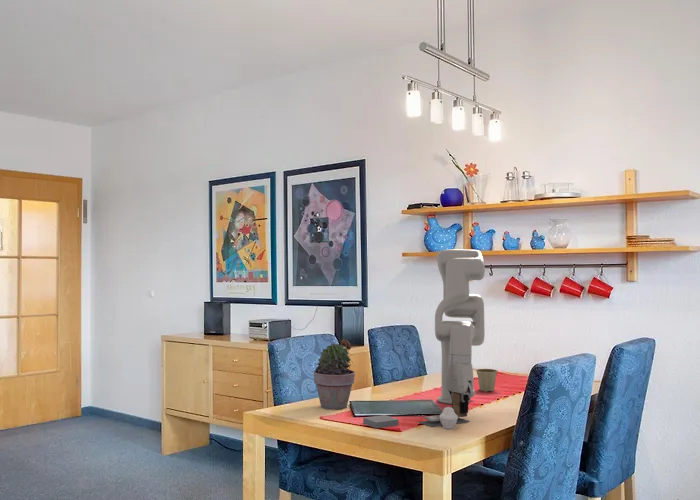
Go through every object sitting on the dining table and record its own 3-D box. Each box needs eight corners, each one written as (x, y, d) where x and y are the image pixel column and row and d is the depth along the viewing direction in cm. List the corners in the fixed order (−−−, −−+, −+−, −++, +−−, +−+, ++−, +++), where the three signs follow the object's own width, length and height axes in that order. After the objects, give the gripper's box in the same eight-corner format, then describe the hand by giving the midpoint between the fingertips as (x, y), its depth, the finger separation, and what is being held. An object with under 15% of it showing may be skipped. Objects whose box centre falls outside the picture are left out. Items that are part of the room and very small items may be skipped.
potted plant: (299, 410, 252) (300, 342, 253) (320, 400, 271) (321, 337, 271) (346, 414, 246) (346, 344, 246) (363, 404, 264) (364, 339, 265)
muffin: (445, 430, 224) (445, 409, 224) (435, 426, 230) (435, 405, 230) (461, 429, 227) (461, 407, 227) (451, 425, 232) (451, 404, 232)
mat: (455, 417, 243) (455, 416, 243) (468, 422, 237) (468, 420, 237) (419, 422, 235) (419, 421, 235) (431, 427, 229) (431, 426, 229)
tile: (385, 414, 238) (363, 417, 233) (398, 419, 231) (376, 422, 227) (385, 421, 238) (363, 424, 233) (398, 426, 231) (376, 429, 227)
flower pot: (475, 392, 293) (475, 371, 293) (475, 388, 302) (475, 368, 302) (498, 392, 291) (498, 372, 292) (497, 388, 301) (497, 369, 301)
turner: (459, 414, 242) (459, 391, 242) (467, 416, 238) (468, 393, 239) (424, 418, 234) (424, 395, 235) (432, 421, 231) (432, 397, 231)
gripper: (437, 356, 245) (436, 408, 245) (467, 363, 231) (467, 418, 231) (453, 355, 249) (453, 406, 249) (484, 361, 235) (484, 415, 234)
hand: (460, 411), depth 240 cm, fingers closed on turner, 3 cm apart
